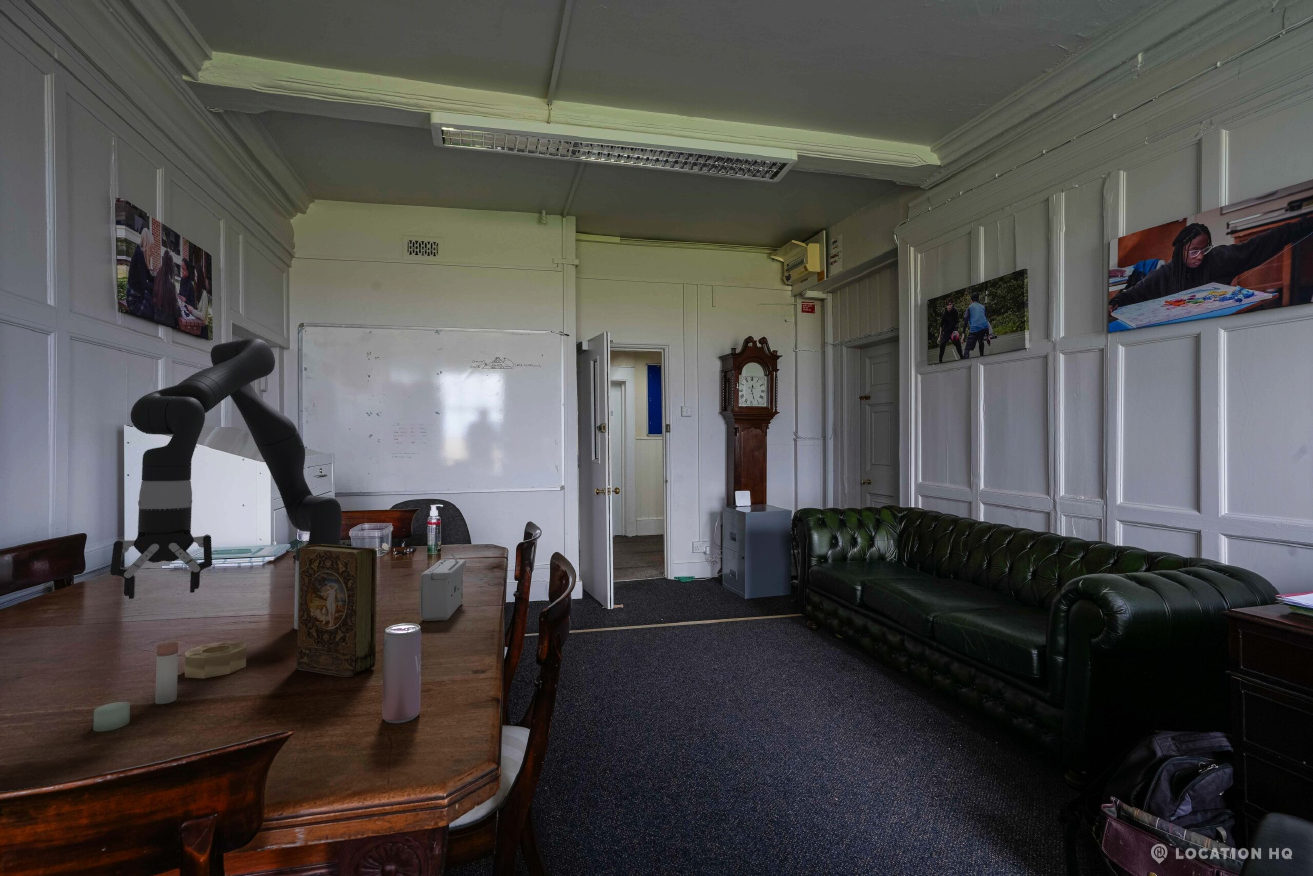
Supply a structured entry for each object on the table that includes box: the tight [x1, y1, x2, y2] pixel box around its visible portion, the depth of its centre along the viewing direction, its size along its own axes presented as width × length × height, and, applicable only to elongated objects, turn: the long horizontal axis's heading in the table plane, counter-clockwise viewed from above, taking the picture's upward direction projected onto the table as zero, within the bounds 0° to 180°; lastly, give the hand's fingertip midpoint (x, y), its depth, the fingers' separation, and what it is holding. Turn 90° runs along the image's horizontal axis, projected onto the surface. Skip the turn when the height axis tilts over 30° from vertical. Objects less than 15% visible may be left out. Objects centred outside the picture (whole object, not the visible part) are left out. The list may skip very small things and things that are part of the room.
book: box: [296, 544, 378, 678], centre depth 126 cm, size 16×6×25 cm, turn 71°
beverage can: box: [381, 623, 422, 724], centre depth 104 cm, size 6×6×15 cm
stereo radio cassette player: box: [419, 545, 467, 622], centre depth 171 cm, size 21×8×20 cm, turn 6°
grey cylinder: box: [155, 641, 179, 705], centre depth 109 cm, size 3×3×10 cm
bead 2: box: [184, 641, 247, 679], centre depth 125 cm, size 10×10×4 cm
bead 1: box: [92, 701, 131, 732], centre depth 100 cm, size 4×4×3 cm
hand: (162, 595), depth 110 cm, fingers open, 8 cm apart
